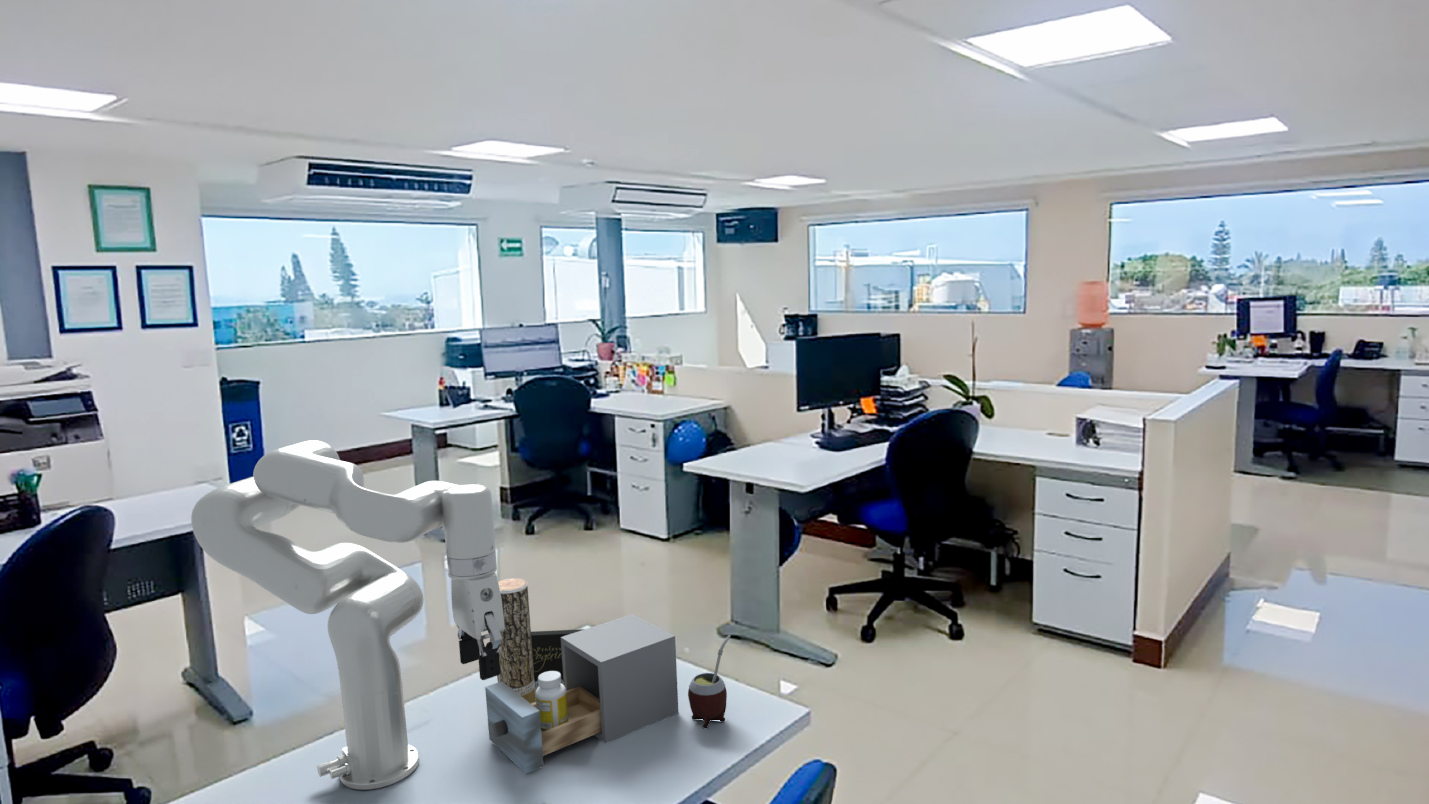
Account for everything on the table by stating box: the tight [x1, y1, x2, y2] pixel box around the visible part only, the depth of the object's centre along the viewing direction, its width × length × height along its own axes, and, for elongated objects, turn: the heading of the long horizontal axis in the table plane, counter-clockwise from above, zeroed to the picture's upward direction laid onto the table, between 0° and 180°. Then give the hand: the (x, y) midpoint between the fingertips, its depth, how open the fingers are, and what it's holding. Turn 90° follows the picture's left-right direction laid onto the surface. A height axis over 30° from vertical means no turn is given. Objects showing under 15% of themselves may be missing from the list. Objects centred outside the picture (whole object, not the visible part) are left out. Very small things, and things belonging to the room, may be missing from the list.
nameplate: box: [531, 628, 585, 682], centre depth 176 cm, size 21×2×10 cm, turn 92°
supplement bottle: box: [535, 671, 568, 732], centre depth 152 cm, size 5×5×10 cm
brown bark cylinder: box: [496, 577, 536, 704], centre depth 163 cm, size 7×7×25 cm
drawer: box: [484, 681, 602, 775], centre depth 151 cm, size 19×14×10 cm
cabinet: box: [561, 613, 679, 744], centre depth 161 cm, size 16×14×15 cm
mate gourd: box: [687, 633, 732, 729], centre depth 157 cm, size 8×8×15 cm
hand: (480, 668), depth 138 cm, fingers open, 6 cm apart
